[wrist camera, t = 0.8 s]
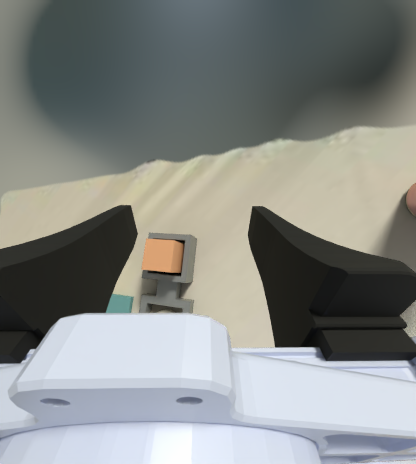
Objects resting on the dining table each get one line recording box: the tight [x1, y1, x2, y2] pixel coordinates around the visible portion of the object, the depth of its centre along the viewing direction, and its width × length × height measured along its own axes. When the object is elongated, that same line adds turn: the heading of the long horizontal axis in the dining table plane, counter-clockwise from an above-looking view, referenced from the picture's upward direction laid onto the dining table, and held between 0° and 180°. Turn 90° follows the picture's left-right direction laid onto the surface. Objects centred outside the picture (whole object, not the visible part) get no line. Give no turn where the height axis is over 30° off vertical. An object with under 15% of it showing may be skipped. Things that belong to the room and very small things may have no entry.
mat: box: [106, 294, 133, 313], centre depth 29 cm, size 8×8×1 cm
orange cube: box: [142, 239, 185, 273], centre depth 26 cm, size 4×4×4 cm
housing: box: [139, 233, 197, 314], centre depth 27 cm, size 16×8×3 cm, turn 174°
